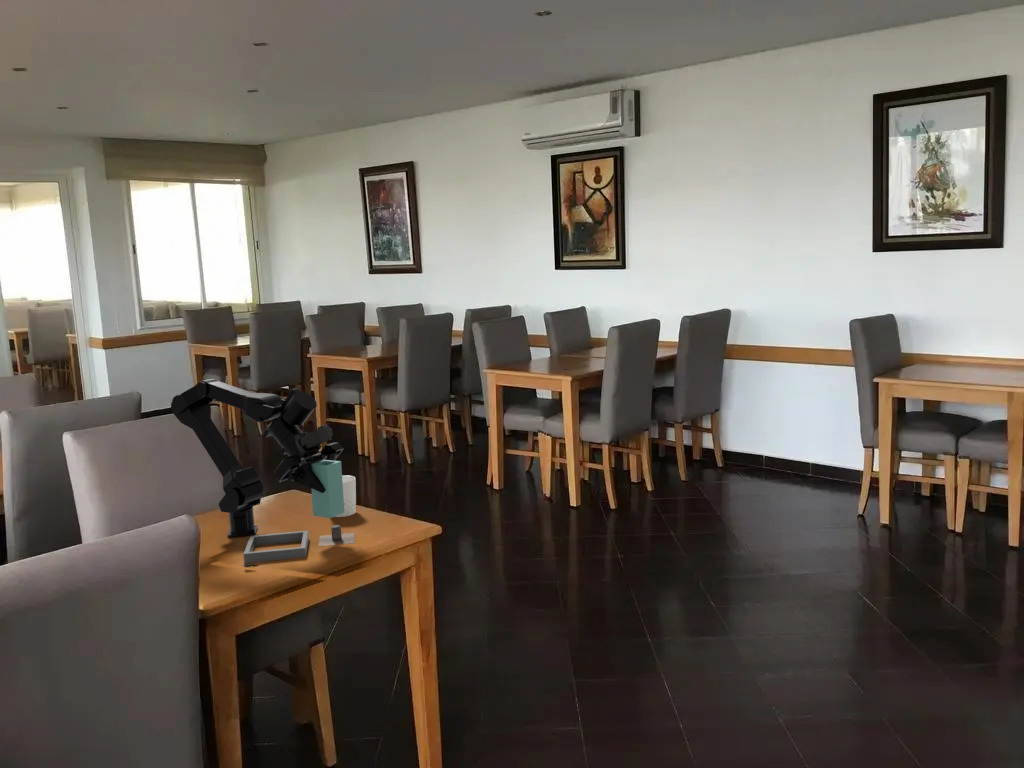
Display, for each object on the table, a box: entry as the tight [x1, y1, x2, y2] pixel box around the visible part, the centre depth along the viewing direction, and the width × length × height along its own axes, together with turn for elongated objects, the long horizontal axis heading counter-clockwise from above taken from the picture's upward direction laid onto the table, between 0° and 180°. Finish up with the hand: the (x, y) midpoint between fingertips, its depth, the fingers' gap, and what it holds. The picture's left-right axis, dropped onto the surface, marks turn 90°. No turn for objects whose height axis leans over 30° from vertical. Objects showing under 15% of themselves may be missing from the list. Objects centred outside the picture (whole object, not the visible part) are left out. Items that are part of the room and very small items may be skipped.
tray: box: [243, 530, 310, 568], centre depth 194 cm, size 13×13×3 cm
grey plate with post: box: [318, 524, 355, 547], centre depth 200 cm, size 8×8×4 cm
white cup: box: [333, 474, 357, 518], centre depth 221 cm, size 8×8×10 cm
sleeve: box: [310, 460, 344, 519], centre depth 197 cm, size 5×5×12 cm
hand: (331, 488), depth 197 cm, fingers closed on sleeve, 5 cm apart
